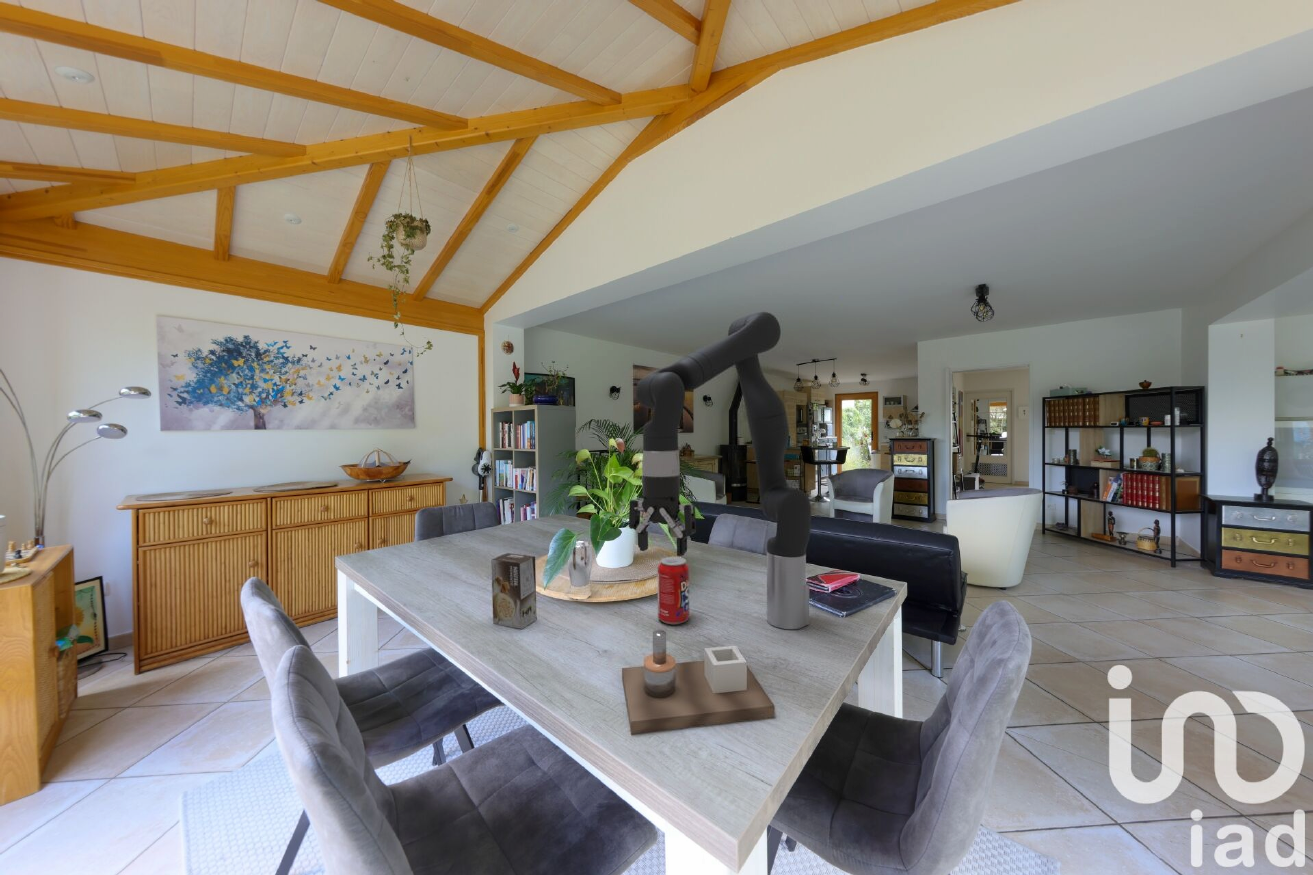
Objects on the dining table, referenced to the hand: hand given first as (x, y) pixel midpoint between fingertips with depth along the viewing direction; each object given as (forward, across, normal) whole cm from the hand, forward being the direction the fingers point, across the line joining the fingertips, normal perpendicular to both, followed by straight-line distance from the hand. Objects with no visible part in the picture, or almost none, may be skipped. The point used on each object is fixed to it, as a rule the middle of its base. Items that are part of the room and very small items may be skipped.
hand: (661, 552), depth 93 cm
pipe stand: (+23, -10, +7) cm, 26 cm away
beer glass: (+23, +38, -21) cm, 49 cm away
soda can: (+23, +8, -20) cm, 31 cm away
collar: (+21, -15, +4) cm, 26 cm away
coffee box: (+23, +42, 0) cm, 48 cm away
